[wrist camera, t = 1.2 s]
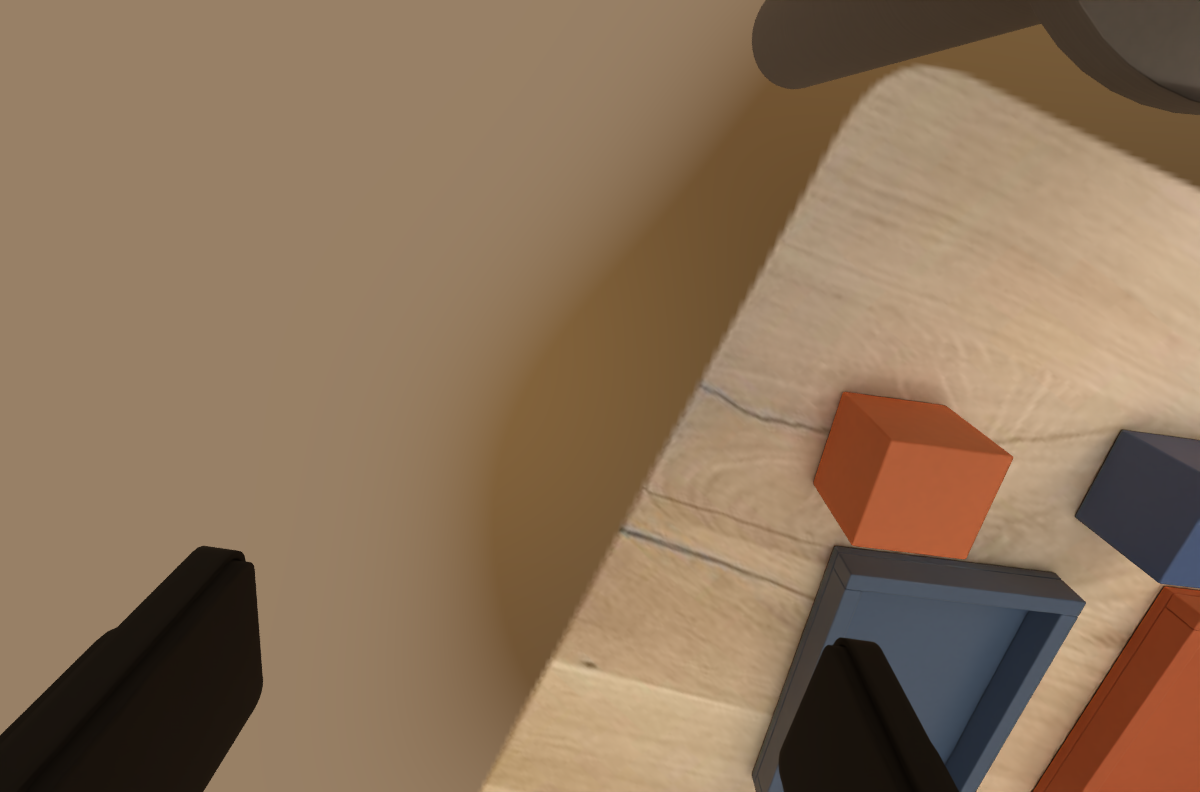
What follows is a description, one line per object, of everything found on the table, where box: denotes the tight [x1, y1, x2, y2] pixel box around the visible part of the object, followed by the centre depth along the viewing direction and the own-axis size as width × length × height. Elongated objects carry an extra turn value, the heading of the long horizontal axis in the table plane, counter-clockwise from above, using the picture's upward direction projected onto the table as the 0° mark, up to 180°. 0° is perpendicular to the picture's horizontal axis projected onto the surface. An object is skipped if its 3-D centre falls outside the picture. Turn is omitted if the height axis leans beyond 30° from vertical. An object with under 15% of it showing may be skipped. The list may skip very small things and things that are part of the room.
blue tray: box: [752, 546, 1086, 792], centre depth 30 cm, size 16×11×2 cm
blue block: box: [1075, 430, 1200, 588], centre depth 24 cm, size 4×4×4 cm
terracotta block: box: [814, 392, 1013, 559], centre depth 23 cm, size 4×4×4 cm
